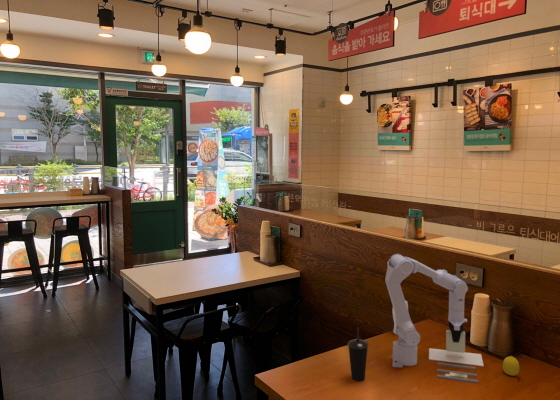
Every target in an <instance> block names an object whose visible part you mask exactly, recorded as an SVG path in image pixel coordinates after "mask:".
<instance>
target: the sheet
mask: <svg viewBox="0 0 560 400" xmlns="http://www.w3.org/2000/svg"><path fill="white" fill-rule="evenodd" d="M445 332H446V333H445V334H446V335H445V339H446V340H445V341H446V342H445V350H446V351H451V352H461V353H465V352H466V331H464V330H463V331H462V333H461V336H460V340H459V343H457V342H453V339H452V333H451V330H450V329H448V330H447V329H446V331H445Z"/></svg>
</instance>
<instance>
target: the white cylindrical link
mask: <svg viewBox="0 0 560 400" xmlns="http://www.w3.org/2000/svg"><path fill="white" fill-rule="evenodd" d="M405 302H406V306H407V309H408V310H409V304H408V303H409V302H408V300H406V299H405ZM392 320H393V323H394V325H393V331H392V333H393V334H394V335H396V336H398V335H397V333H396V327H397V325H396V322H397V318H396V315H395V312H394V308H393V307H392Z"/></svg>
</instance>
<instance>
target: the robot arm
mask: <svg viewBox="0 0 560 400" xmlns="http://www.w3.org/2000/svg"><path fill="white" fill-rule="evenodd" d="M386 263H387V265H386V266H387V269H386V273H385V279H384V280H385V284H386V287H387V292H388V295H389V297H390V302H391V305H392V309H393V308H394V312H395V315H396V318H397V322H396V325H397V327H396V333H397V335H396V336H398V340H394V341H393V342H392V355H391V359H392V365H391V366H392V367H393V368H403V366H407V367H413V366H416V365H417V364H418V345H419V343H420V342H421V336H420V333H419V332H418V331H417V330H416V327H415V325H414V324H413V322H412V320H411V316H410V313H409V308H408V309H407V306H406V302H405V300H406V299H405V296H404V293H403V289H402V286H401V283H402V281H405V279H407V278H408V277H409V276H410V275H412V274H416V273H421V274H423V275H425V276H427V277H428V278H431V279H432V281H433V283H434V284H435V285H439V286H440V287H442V288H444V289H446V290H449V291H448V292H449V293H448V316H447V317H448V318H447V320H448V322H447V323H448V328H449V330H451V333H452V339H453V342H457V343H459V340H460V336H461V333H462V331H463V332H464V331H465V326H464V323H468V319H467V318H465V298H466V293H467V292H468V290H469V287H468V284H467V283H466V282H465V281H464V280H463V279H460V278H458V276H457V275H455V274H450V273H448V270H446V269H437V270H435V269H433V268H431V267H429V266H427V265H425V264H423V263H421V262H419V261H418V260H416V259H413V258H411V257H408V256H403V255H402V254H400V253H394V254H393V255H391V256H390V258H389V260H388V261H387V262H386Z"/></svg>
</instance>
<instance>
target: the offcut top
mask: <svg viewBox="0 0 560 400" xmlns="http://www.w3.org/2000/svg"><path fill="white" fill-rule="evenodd" d="M450 376H451V377H458V378H466V379H469V378H468V377H469V376H467V374H459V373H451V372H450Z"/></svg>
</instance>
